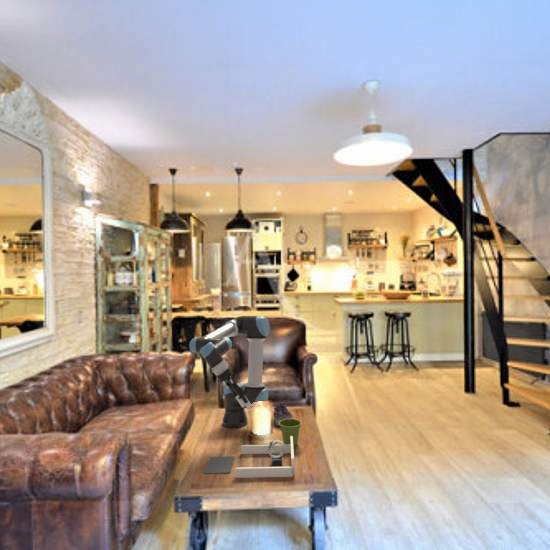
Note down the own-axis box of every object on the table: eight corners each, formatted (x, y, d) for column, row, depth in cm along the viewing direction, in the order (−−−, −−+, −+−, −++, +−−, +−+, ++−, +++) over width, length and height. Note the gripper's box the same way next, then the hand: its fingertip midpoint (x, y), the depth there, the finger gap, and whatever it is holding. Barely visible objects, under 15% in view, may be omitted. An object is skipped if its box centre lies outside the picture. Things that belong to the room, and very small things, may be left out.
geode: (269, 416, 253) (270, 400, 254) (287, 417, 255) (288, 401, 256) (274, 427, 233) (275, 409, 234) (293, 428, 235) (295, 410, 235)
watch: (268, 461, 192) (267, 438, 192) (284, 460, 192) (284, 437, 192) (268, 467, 186) (267, 443, 186) (285, 466, 187) (285, 442, 187)
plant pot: (302, 448, 205) (302, 426, 205) (279, 449, 205) (279, 427, 205) (301, 438, 217) (300, 418, 217) (279, 439, 217) (278, 418, 217)
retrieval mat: (210, 457, 198) (210, 456, 198) (234, 457, 198) (234, 456, 198) (203, 473, 182) (203, 472, 182) (230, 473, 182) (230, 472, 182)
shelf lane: (241, 453, 202) (240, 437, 202) (293, 452, 201) (292, 436, 201) (235, 477, 177) (235, 459, 177) (294, 476, 177) (294, 458, 177)
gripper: (213, 375, 208) (236, 409, 207) (219, 376, 184) (246, 414, 184) (224, 367, 210) (248, 400, 210) (233, 366, 187) (259, 404, 186)
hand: (247, 407), depth 197 cm, fingers open, 13 cm apart
